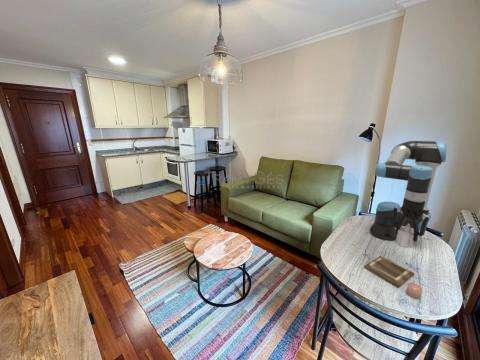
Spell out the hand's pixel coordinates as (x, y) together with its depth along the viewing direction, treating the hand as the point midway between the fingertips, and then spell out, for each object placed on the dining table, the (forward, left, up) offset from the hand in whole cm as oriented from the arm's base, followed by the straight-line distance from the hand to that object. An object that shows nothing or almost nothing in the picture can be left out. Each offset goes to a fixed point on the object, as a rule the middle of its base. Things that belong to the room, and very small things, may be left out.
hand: (404, 243), depth 97 cm
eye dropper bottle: (0, 0, -1) cm, 1 cm away
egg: (+9, +10, -18) cm, 22 cm away
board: (+3, -3, -18) cm, 18 cm away
